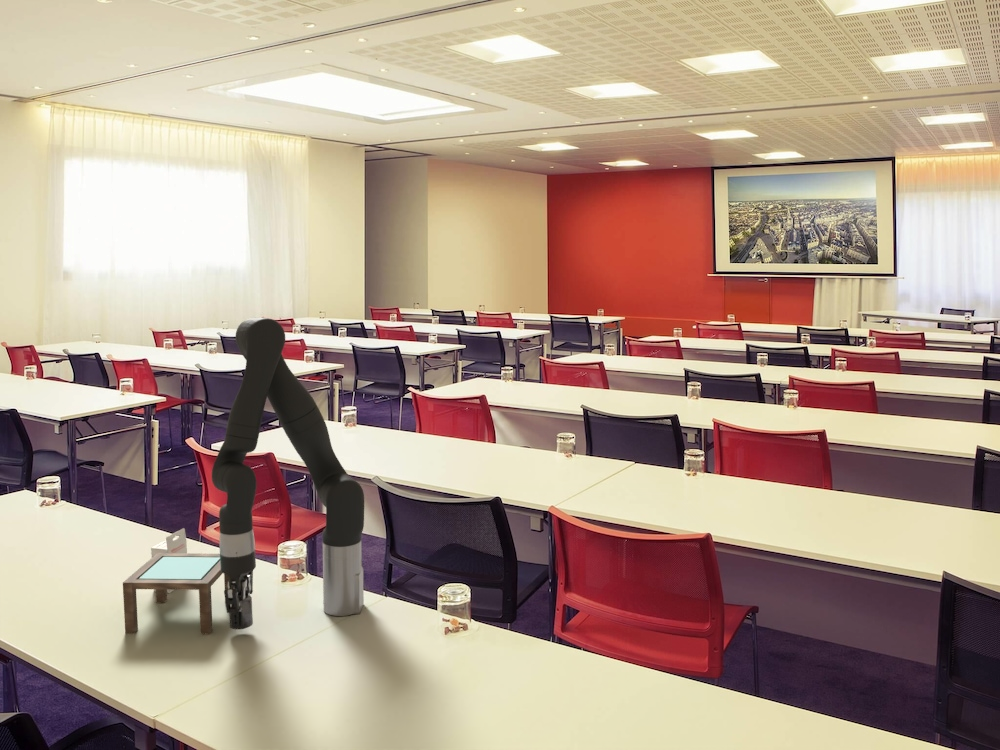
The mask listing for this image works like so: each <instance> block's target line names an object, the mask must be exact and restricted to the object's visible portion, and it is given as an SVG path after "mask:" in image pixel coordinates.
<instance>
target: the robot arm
mask: <svg viewBox="0 0 1000 750" xmlns="http://www.w3.org/2000/svg"><path fill="white" fill-rule="evenodd" d="M235 331H236V332H235V342H236V346H237V348H238V350H239V352H240V353H241V355H242V356H243V358H244V359H245V362H246V363H245V369H244V374H243V378H242V381H241V384H240V387H239V390H238V392H237V394H236V396H235V399H234V401H233V403H232V404H231V405H232V406H231V408H230V411H229V415H228V420H227V425H226V429H225V436H224V441H223V443H222V445H221V447H220V449H219V451H218V453H217V456H216V457H215V460H214V464H213V466H212V467H211V468H212V469H211V482H212V484H213V486H214V487H215V488H216V489H217V490H218V491H220V492H224V493H225V494H226V504H223V505H221V506H220V509H219V512H218V520H219V541H218V542H219V554H220V565H221V571H222V574H223V575H224V574H227V575H228V576H229V577H230V578H229V580H228V588H229V589H225V588H224V591H223V594H224V602H225V601H226V603H225V607H226V613H228V614H229V613H231V618H232V627H233V628H241V627H242V625H243V619H242V602H243V601H244V600H245V595H249V596H251V595H253V591H254V590H253V586H254V584H253V583H254V582H253V581H254V570H255V569H256V566H257V564H256V563H257V562H256V559H257V558H256V544H255V542H256V541H255V535H254V525H253V523H254V521H253V508H254V503H255V498H256V491H257V487H258V486H257V484H258V483H257V482H258V480H257V476H256V474H255V470H253V468H252V467H250V466H249V465H247V464H245V463H244V462H245V459H246V457H247V454H248V453H252V452H254V451H255V450H256V448H257V446H258V441H259V436H260V431H261V430H260V429H261V425H262V420H263V417H264V412H265V407H266V401H267V399H268V401H269V403H270V405H271V407H272V409H273V411H274V413H275V415H276V417H277V419H278V422H279V423H280V425H281V427H282V429H283V431H284V433H285V436H287V438H288V440H289V442H290V443H291V445H292V447H293V448H294V450H295V451H296V453H297V454H298V456H299V457H300V458H301V460H302V462H303V463H304V465H305V467H306V469H307V470H308V473H309V476H310V478H311V480H312V482H313V485H314V488H315V491H316V492H317V496H318V498H319V500H320V502H321V503H322V505H323V506H324V507H325V508H326V509H325V513H326V514H325V515H326V516H325V520H326V521H325V528H323V530H322V534H321V535H322V536H321V537H322V539H321V540H322V576H323V577H322V587H323V588H322V590H323V591H322V594H323V595H322V596H323V598H322V599H323V601H322V602H323V603H322V604H323V612H324V613H326V614H327V615H330V616H335V617H345V616H351V615H354V614H355V615H356V614H361V611H362V608H363V606H364V600H365V599H364V598H365V597H364V567H363V566H362V564H363V563H362V533H363V531H364V527H365V525H364V524H365V493H364V490H363V487H362V486H361V485H360V483H359V482H358V481H356V479H354V478H352V477H351V476H350V475H349V474H348V472H347V471H346V469H345V468H344V467H343V465H342V464H341V462H340V461H339V458H338V457H337V455H336V454H335V452H334V449H333V446H332V443H331V438H330V434H329V431H328V427H327V424H326V421H325V418H324V416H323V415H322V413H321V411H320V408H319V407H318V404H317V403H316V400H314V398H313V396H312V395H311V393H310V392H309V391H308V389H307V388H306V387H305V386H304V384H303V383H302V382H301V381H300V380H299V379H298V378H297V376H296V375H295V374H294V373H293V372H292V370H291V369H290V368H289V366H288V364H287V362H286V360H285V358H284V356H283V354H282V353H283V350H284V346H285V345H286V333H285V330H284V328H283V326H282V324H280V323H279V322H278V321H277V320H275V319H273V318H268V317H250V318H248V319H246V320H242V321H241V323H240V324H239V325H238V326H237V329H236V330H235ZM238 595H241V597H238ZM234 605H235V606H234Z"/></svg>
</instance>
